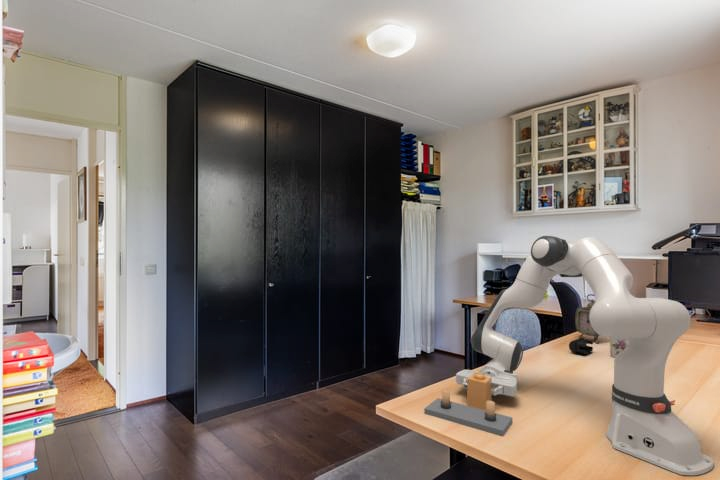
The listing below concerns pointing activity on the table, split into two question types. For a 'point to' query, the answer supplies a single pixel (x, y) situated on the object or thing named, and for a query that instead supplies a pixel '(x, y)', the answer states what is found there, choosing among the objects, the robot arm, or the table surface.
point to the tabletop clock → (585, 320)
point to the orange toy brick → (478, 390)
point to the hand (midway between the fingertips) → (478, 389)
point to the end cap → (581, 347)
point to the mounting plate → (469, 414)
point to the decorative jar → (617, 346)
